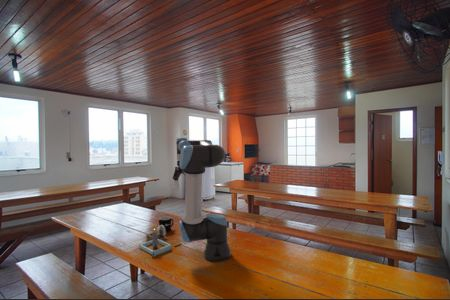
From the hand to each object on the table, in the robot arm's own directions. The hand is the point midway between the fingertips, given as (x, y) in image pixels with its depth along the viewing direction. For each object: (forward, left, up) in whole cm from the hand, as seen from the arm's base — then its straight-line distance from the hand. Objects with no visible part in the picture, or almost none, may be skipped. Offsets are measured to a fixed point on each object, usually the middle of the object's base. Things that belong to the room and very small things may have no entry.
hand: (183, 190), depth 175 cm
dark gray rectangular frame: (-5, +15, -32) cm, 35 cm away
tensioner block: (+8, +18, -32) cm, 37 cm away
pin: (-5, +26, -31) cm, 41 cm away
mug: (+17, +3, -32) cm, 36 cm away
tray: (-5, +26, -32) cm, 41 cm away
